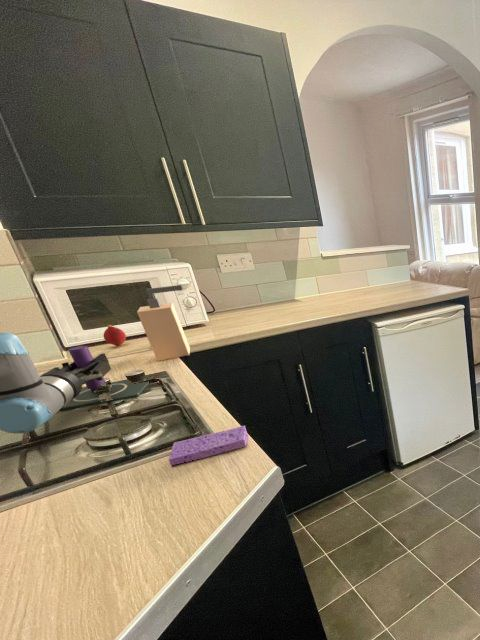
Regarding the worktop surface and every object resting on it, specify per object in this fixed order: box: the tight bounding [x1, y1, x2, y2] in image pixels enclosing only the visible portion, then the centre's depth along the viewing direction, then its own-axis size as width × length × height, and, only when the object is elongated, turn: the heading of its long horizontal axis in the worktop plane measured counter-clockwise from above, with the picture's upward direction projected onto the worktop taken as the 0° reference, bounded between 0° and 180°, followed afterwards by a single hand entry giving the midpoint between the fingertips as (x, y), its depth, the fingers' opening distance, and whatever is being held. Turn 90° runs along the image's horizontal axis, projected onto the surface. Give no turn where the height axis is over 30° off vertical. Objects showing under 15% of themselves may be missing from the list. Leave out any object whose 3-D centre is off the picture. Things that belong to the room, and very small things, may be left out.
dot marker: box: [67, 345, 105, 392], centre depth 110 cm, size 4×4×12 cm
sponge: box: [168, 425, 248, 466], centre depth 83 cm, size 7×13×2 cm, turn 119°
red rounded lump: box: [103, 324, 127, 347], centre depth 151 cm, size 6×6×8 cm
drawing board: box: [58, 375, 155, 412], centre depth 112 cm, size 20×15×1 cm
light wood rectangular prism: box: [136, 284, 191, 362], centre depth 137 cm, size 13×9×22 cm
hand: (95, 359), depth 115 cm, fingers closed on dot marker, 4 cm apart
